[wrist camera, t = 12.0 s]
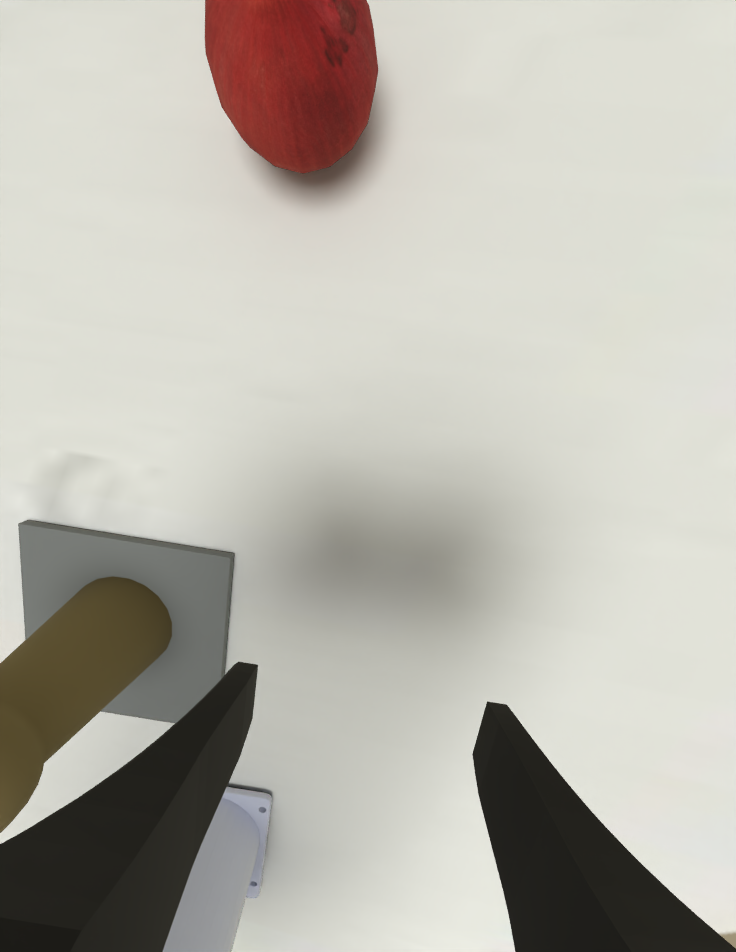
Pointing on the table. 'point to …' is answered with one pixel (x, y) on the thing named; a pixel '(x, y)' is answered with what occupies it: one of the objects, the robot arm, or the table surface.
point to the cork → (72, 676)
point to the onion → (294, 75)
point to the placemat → (166, 574)
